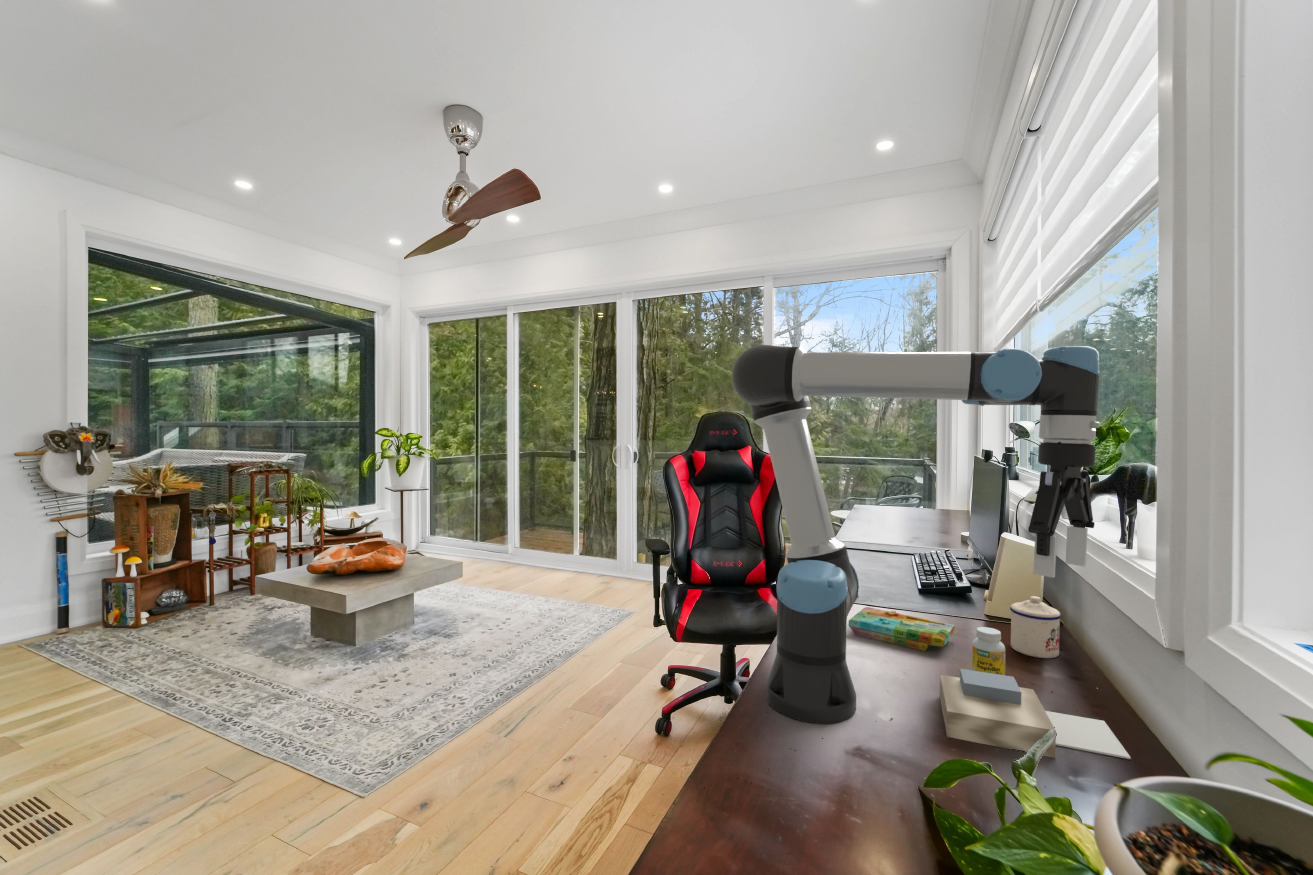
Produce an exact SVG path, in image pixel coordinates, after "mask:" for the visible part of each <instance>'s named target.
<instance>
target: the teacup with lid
mask: <svg viewBox="0 0 1313 875" xmlns="http://www.w3.org/2000/svg"><path fill="white" fill-rule="evenodd" d="M1009 610H1010V611H1011V612H1010V614H1011V616H1010V647H1011V648H1012V649H1013V650H1014V651H1016V652H1017V653H1021V654H1023V655H1025V656H1030V657H1034V658H1040V659H1053V658H1057V657H1058V656H1059V655H1060V619H1061V618H1062V615H1061V612H1060V611H1059V610H1058V609H1057V608H1054V607H1052V606H1049V605H1048V604H1046V603H1045V602H1043V601H1042V599H1041V597H1039V596H1035V595H1032V596H1030V597H1029V599H1027V600H1024V601H1021V602H1020V601H1019V602H1014V603H1012V604H1011V605H1010V607H1009Z"/></svg>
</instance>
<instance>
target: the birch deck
mask: <svg viewBox="0 0 1313 875" xmlns="http://www.w3.org/2000/svg"><path fill="white" fill-rule="evenodd" d="M1019 688H1020V690H1021V705H1020V704H1014V703H1008V702H1002V701H996V700H990V699H984V698H978V697H973V696H967V695H964V693H963V690H962V686H961V682H960V676H959V677H958V676H957V677H956V676H951V675H945V674H939V699H940V705H941V711H942V716H943V722H944V727H945V733H946V738H950V739H951V738H953V739H956V740H957V739H958V740H963V741H967V742H971V743H978V744H983V745H987V746H993V747H996V748H997V747H998V748H1003V749H1008V750H1012V749H1021V750H1025V752H1024V753H1027V751H1028V750H1029V749H1030V748H1031V747H1032V746H1033V745H1034V744H1035V743H1036V742H1037V741H1038V740H1039V739H1041V738H1042V737H1043V735H1045V734H1046V733H1047V732H1048V731H1049V730H1051V729H1054V730H1055V728H1054V727H1053V725H1052V723H1051V721H1050V719H1049V717H1048V716H1047V714H1046V712H1045V711H1046V710H1045V708H1044V706H1043V705H1042V703H1041V701H1040V699H1039V697H1038V695H1037V694H1036V692H1035V690H1034V689H1032V688H1027V687H1020V686H1019ZM1055 732H1056V730H1055ZM1056 746H1057V745H1056V739H1055V741H1054V742H1053V744H1052V745H1051V746H1050V747H1049V748H1048V749H1047V750H1046V752H1045V753H1044V755H1043V757H1047V758H1052V759H1053V758H1054V759H1056Z"/></svg>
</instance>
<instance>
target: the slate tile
mask: <svg viewBox="0 0 1313 875" xmlns="http://www.w3.org/2000/svg"><path fill="white" fill-rule="evenodd" d="M959 678H960V682H961V686H962V690H963V693H964V695H967V696H973V697H978V698H984V699H990V700H996V701H1002V702H1008V703H1014V704H1020V705H1021V690H1020V688H1019V687H1020V685H1018V682H1017V680H1016V679H1015V677H1014V676H1011V675H1006V674H1005V675H999V674H992V673H986V672H979V671H973V670H972V669H965V668H964V669H963V668H960V669H959Z"/></svg>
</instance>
